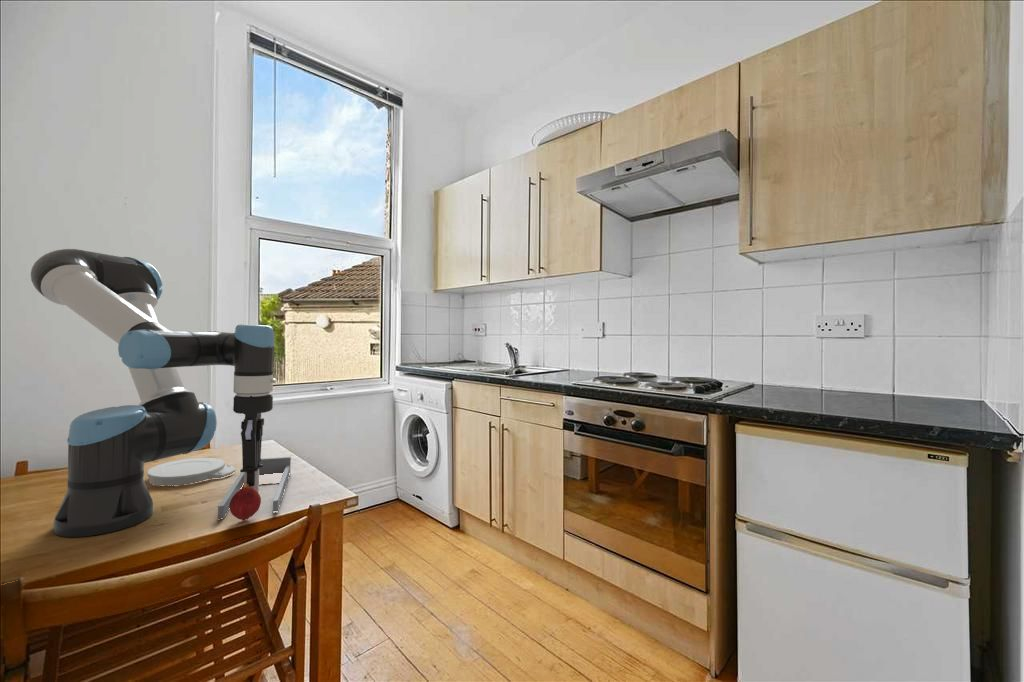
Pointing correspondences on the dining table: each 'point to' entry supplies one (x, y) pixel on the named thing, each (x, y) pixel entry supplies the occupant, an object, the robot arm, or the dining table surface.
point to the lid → (188, 471)
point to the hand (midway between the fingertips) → (251, 498)
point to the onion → (245, 502)
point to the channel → (268, 468)
